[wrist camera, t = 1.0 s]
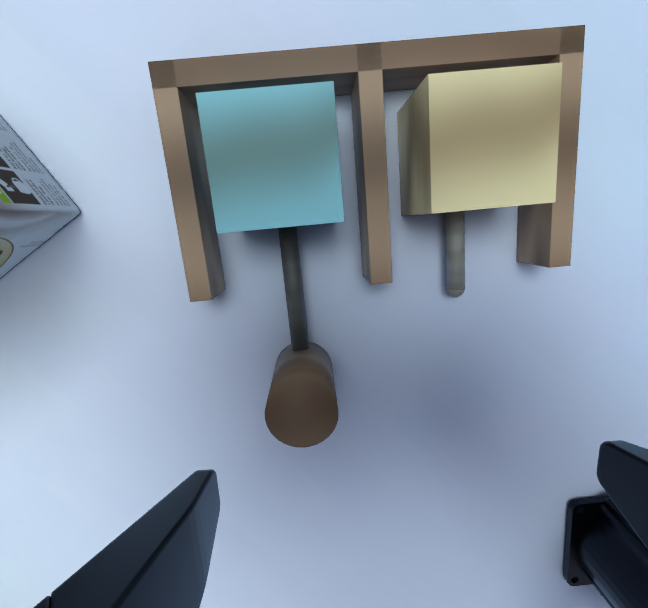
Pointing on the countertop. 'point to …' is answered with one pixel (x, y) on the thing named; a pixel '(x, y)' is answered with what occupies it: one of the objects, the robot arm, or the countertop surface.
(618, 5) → the countertop surface
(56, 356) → the countertop surface
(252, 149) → the blue handled block
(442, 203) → the ochre block
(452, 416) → the countertop surface
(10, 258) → the coffee box
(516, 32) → the walnut lane rack
